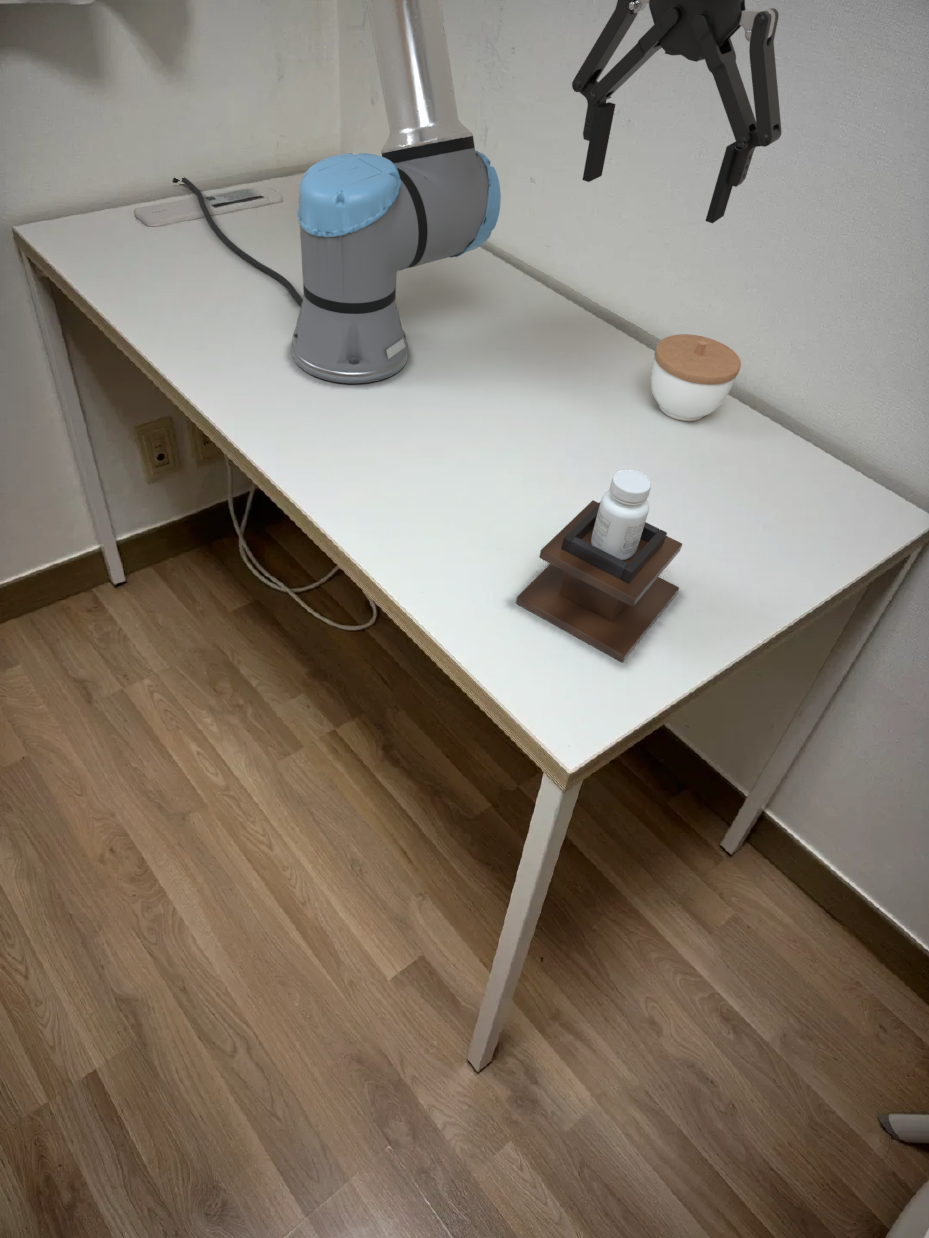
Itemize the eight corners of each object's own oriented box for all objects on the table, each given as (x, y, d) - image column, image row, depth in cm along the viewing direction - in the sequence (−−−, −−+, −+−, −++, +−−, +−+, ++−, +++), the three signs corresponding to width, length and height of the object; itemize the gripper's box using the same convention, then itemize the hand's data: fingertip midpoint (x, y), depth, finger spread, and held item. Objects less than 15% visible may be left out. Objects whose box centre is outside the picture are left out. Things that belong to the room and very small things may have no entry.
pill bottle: (640, 539, 80) (660, 473, 75) (631, 567, 77) (652, 501, 72) (595, 526, 81) (613, 460, 76) (585, 554, 78) (602, 487, 73)
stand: (515, 603, 83) (527, 538, 77) (576, 543, 90) (592, 478, 84) (622, 662, 79) (644, 598, 72) (677, 594, 86) (701, 530, 80)
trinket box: (633, 385, 114) (650, 320, 107) (709, 388, 115) (730, 323, 108) (651, 430, 106) (671, 363, 100) (732, 433, 108) (757, 366, 101)
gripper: (561, -104, 70) (525, 170, 85) (853, -45, 61) (755, 248, 76) (604, -107, 74) (563, 154, 90) (882, -53, 66) (784, 226, 81)
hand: (651, 198), depth 83 cm, fingers open, 13 cm apart
